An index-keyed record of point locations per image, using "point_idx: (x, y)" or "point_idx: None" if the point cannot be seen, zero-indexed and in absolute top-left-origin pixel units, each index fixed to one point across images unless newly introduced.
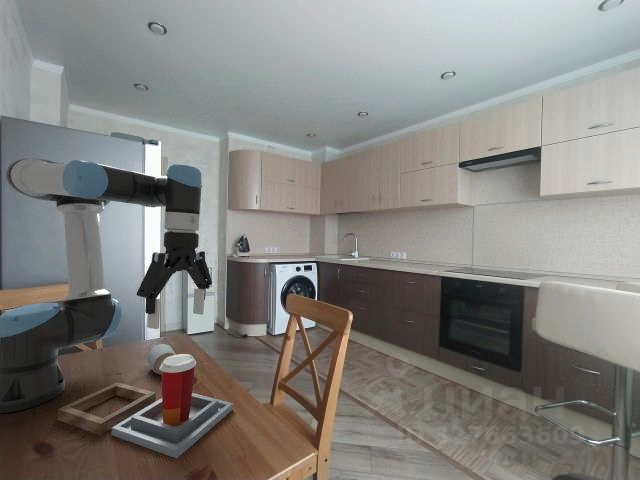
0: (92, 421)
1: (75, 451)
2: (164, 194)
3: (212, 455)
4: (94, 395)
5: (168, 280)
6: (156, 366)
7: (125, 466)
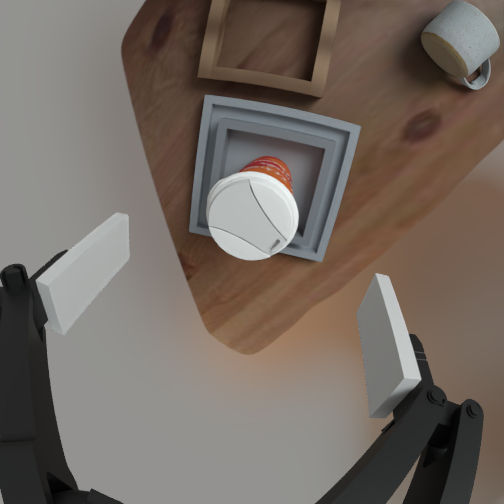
0: (201, 56)
1: (166, 78)
2: None
3: (211, 267)
4: None
5: (56, 421)
6: (424, 38)
7: (162, 171)
